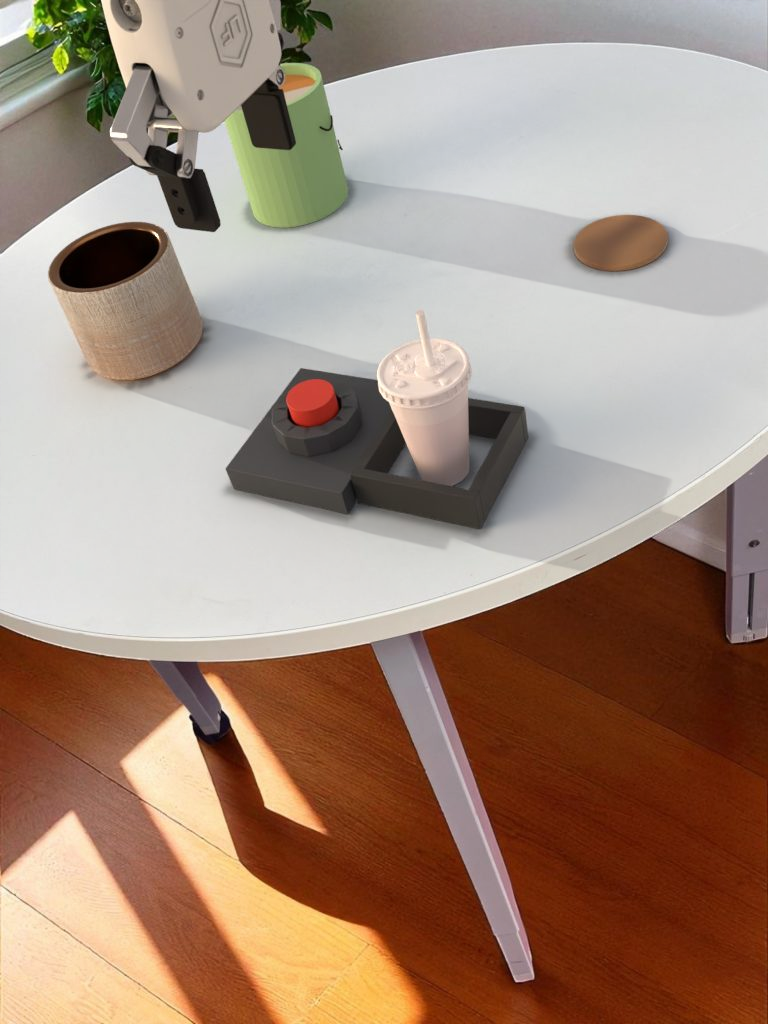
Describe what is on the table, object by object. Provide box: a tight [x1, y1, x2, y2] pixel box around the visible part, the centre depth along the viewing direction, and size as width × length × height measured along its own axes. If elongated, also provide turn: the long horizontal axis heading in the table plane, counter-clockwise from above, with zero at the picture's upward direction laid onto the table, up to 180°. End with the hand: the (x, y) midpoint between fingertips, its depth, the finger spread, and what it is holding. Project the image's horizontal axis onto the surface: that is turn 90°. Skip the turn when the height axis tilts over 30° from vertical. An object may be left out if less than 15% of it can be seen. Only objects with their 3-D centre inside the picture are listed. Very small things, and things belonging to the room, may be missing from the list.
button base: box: [225, 367, 392, 515], centre depth 81 cm, size 10×12×4 cm
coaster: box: [573, 214, 669, 272], centre depth 93 cm, size 8×8×1 cm
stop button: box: [286, 379, 339, 428], centre depth 79 cm, size 4×4×2 cm
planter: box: [47, 221, 204, 381], centre depth 93 cm, size 11×11×10 cm
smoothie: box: [376, 309, 473, 487], centre depth 73 cm, size 6×6×14 cm
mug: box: [224, 62, 349, 228], centre depth 107 cm, size 13×10×12 cm
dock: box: [350, 397, 529, 530], centre depth 77 cm, size 10×10×3 cm
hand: (238, 185), depth 69 cm, fingers open, 9 cm apart
